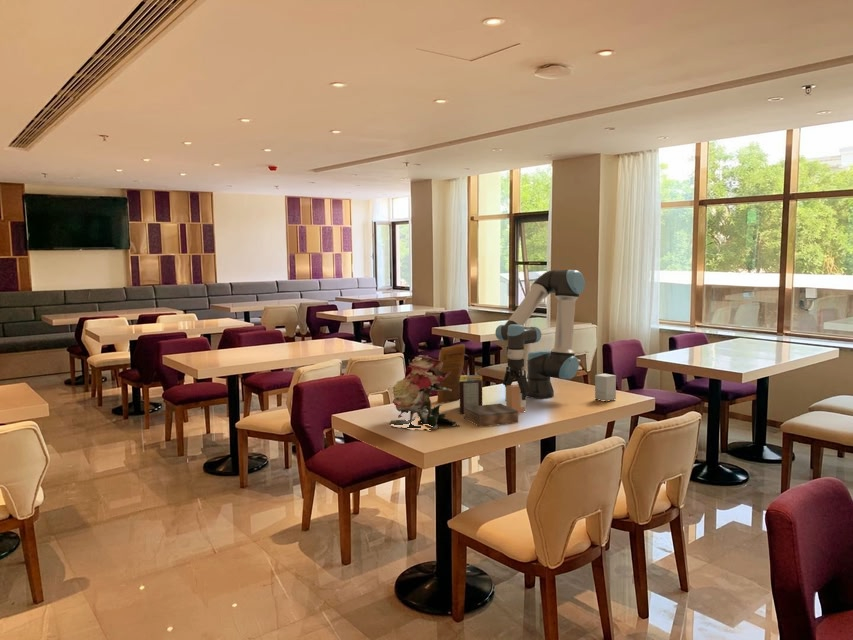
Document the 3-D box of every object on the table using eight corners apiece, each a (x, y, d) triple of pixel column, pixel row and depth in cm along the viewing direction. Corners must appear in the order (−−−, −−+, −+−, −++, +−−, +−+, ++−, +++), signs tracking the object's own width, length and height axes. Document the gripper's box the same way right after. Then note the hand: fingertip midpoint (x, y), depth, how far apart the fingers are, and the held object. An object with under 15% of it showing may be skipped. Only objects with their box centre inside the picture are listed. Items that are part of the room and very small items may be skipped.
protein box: (482, 407, 301) (482, 374, 300) (482, 414, 286) (482, 381, 284) (460, 406, 302) (460, 374, 300) (459, 414, 287) (459, 380, 285)
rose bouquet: (419, 413, 289) (418, 349, 286) (465, 425, 268) (465, 355, 265) (375, 424, 271) (373, 355, 269) (421, 437, 250) (420, 362, 248)
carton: (519, 409, 294) (519, 384, 293) (525, 412, 290) (525, 386, 289) (506, 411, 292) (506, 385, 291) (511, 413, 287) (511, 387, 286)
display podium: (500, 414, 286) (500, 403, 285) (517, 422, 271) (517, 411, 270) (464, 418, 279) (464, 407, 279) (480, 426, 264) (480, 415, 264)
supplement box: (616, 400, 311) (616, 375, 310) (606, 402, 307) (606, 376, 306) (604, 397, 317) (604, 373, 316) (594, 399, 313) (594, 374, 312)
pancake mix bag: (469, 398, 319) (469, 343, 317) (441, 404, 308) (440, 347, 305) (460, 396, 325) (460, 342, 322) (432, 402, 313) (431, 346, 310)
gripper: (495, 355, 299) (495, 399, 301) (522, 362, 276) (521, 410, 278) (509, 354, 302) (509, 397, 303) (537, 361, 278) (536, 408, 280)
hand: (515, 403), depth 290 cm, fingers open, 13 cm apart
